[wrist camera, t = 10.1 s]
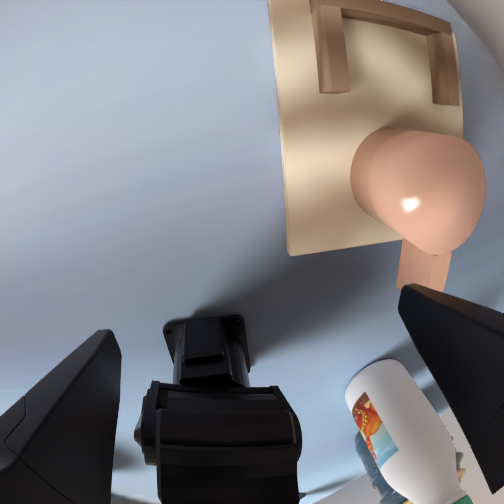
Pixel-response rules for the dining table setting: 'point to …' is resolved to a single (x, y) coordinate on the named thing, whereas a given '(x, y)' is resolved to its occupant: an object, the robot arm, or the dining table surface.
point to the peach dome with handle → (420, 196)
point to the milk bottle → (405, 434)
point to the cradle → (352, 104)
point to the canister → (390, 498)
